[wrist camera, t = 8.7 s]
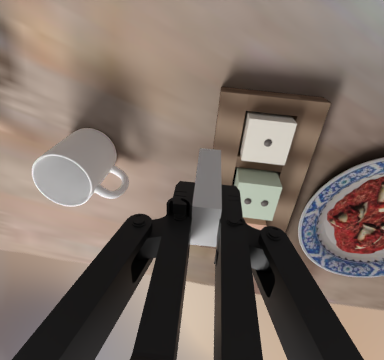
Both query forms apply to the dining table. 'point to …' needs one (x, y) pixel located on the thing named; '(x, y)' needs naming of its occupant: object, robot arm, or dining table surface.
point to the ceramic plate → (347, 222)
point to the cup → (78, 168)
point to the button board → (299, 150)
